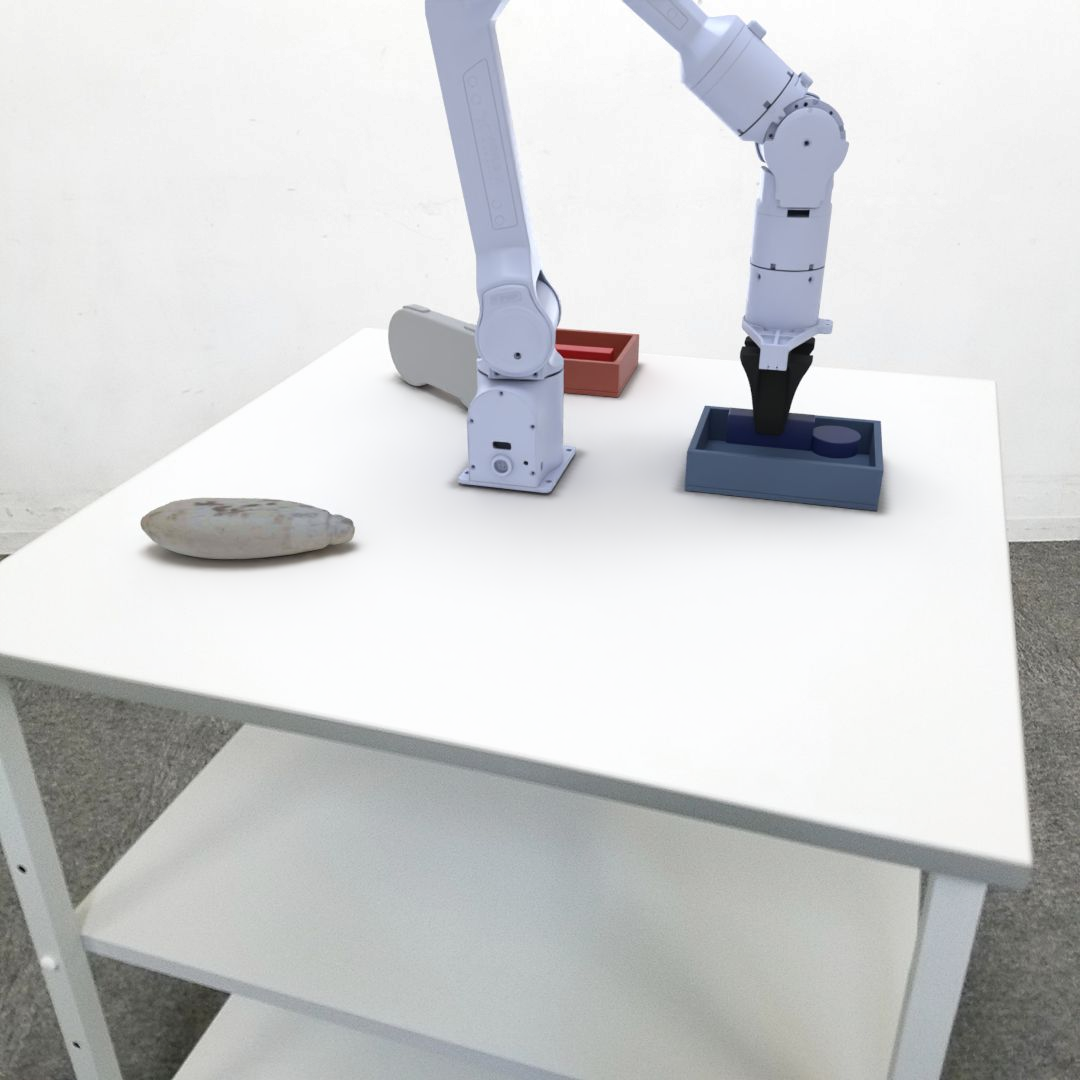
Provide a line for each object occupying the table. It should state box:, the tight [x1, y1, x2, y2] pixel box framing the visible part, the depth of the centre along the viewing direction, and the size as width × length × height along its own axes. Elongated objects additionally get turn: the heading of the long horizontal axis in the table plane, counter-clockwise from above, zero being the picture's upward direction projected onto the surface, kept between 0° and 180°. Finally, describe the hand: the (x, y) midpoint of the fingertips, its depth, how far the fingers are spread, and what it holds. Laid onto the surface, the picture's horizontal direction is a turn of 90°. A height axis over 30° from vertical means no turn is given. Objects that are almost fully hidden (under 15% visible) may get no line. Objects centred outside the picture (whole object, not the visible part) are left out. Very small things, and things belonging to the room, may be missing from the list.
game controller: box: [387, 303, 479, 410], centre depth 103 cm, size 20×2×8 cm, turn 39°
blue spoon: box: [726, 407, 861, 459], centre depth 86 cm, size 11×4×3 cm, turn 75°
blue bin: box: [684, 405, 885, 512], centre depth 87 cm, size 11×15×4 cm
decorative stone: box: [140, 497, 356, 560], centre depth 75 cm, size 6×16×3 cm, turn 93°
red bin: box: [555, 327, 640, 398], centre depth 111 cm, size 11×15×4 cm
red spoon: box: [555, 344, 614, 362], centre depth 111 cm, size 11×4×3 cm, turn 75°
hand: (769, 428), depth 86 cm, fingers closed on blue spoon, 2 cm apart
